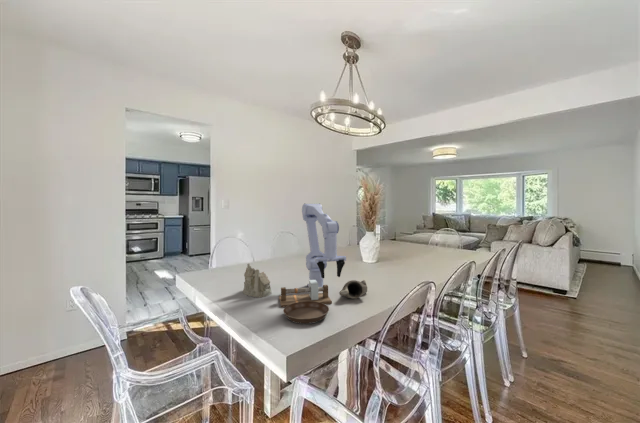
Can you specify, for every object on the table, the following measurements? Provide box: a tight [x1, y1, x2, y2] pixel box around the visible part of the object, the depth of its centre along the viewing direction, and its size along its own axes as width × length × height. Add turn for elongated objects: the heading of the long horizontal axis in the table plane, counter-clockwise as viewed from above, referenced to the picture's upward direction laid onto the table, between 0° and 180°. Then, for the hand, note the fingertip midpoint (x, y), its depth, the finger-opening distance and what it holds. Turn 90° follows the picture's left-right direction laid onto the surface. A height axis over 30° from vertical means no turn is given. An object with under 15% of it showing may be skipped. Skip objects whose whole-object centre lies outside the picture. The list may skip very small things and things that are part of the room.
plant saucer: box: [282, 301, 330, 325], centre depth 110 cm, size 18×18×3 cm
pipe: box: [338, 279, 368, 300], centre depth 133 cm, size 16×9×15 cm
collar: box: [308, 279, 319, 300], centre depth 128 cm, size 7×3×7 cm, turn 12°
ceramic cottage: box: [242, 262, 273, 299], centre depth 141 cm, size 16×16×15 cm
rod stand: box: [278, 284, 333, 308], centre depth 127 cm, size 12×22×6 cm, turn 102°
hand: (330, 277), depth 131 cm, fingers open, 7 cm apart
